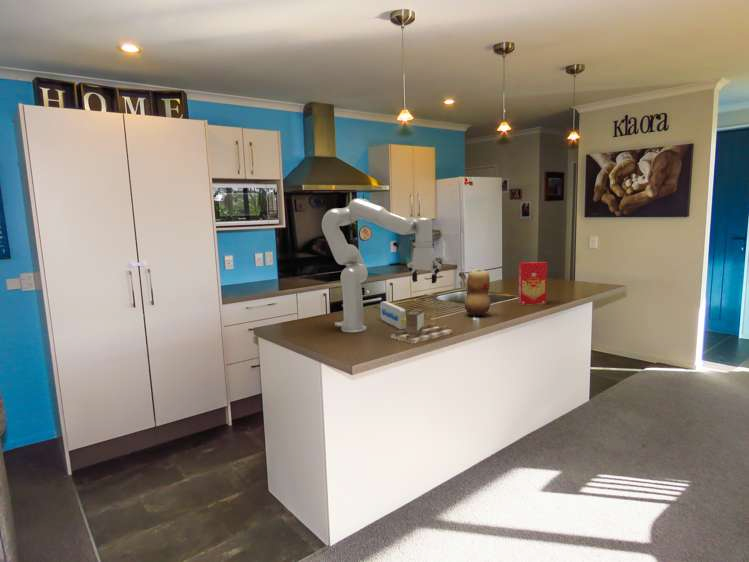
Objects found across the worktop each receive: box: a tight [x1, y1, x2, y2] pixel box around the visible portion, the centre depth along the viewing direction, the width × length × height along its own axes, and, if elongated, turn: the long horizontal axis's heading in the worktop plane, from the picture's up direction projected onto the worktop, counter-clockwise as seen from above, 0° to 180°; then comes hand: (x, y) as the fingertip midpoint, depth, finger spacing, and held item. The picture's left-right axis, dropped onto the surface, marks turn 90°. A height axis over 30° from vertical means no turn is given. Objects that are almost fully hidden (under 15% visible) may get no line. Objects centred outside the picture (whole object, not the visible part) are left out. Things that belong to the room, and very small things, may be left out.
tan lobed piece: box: [464, 268, 491, 317], centre depth 257 cm, size 14×13×25 cm
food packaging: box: [518, 261, 548, 304], centre depth 283 cm, size 15×5×25 cm, turn 88°
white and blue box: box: [380, 300, 407, 330], centre depth 242 cm, size 32×4×10 cm, turn 20°
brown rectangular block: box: [406, 307, 426, 335], centre depth 217 cm, size 14×5×9 cm, turn 159°
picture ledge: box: [390, 322, 454, 345], centre depth 220 cm, size 26×14×3 cm, turn 129°
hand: (424, 282), depth 220 cm, fingers open, 9 cm apart
